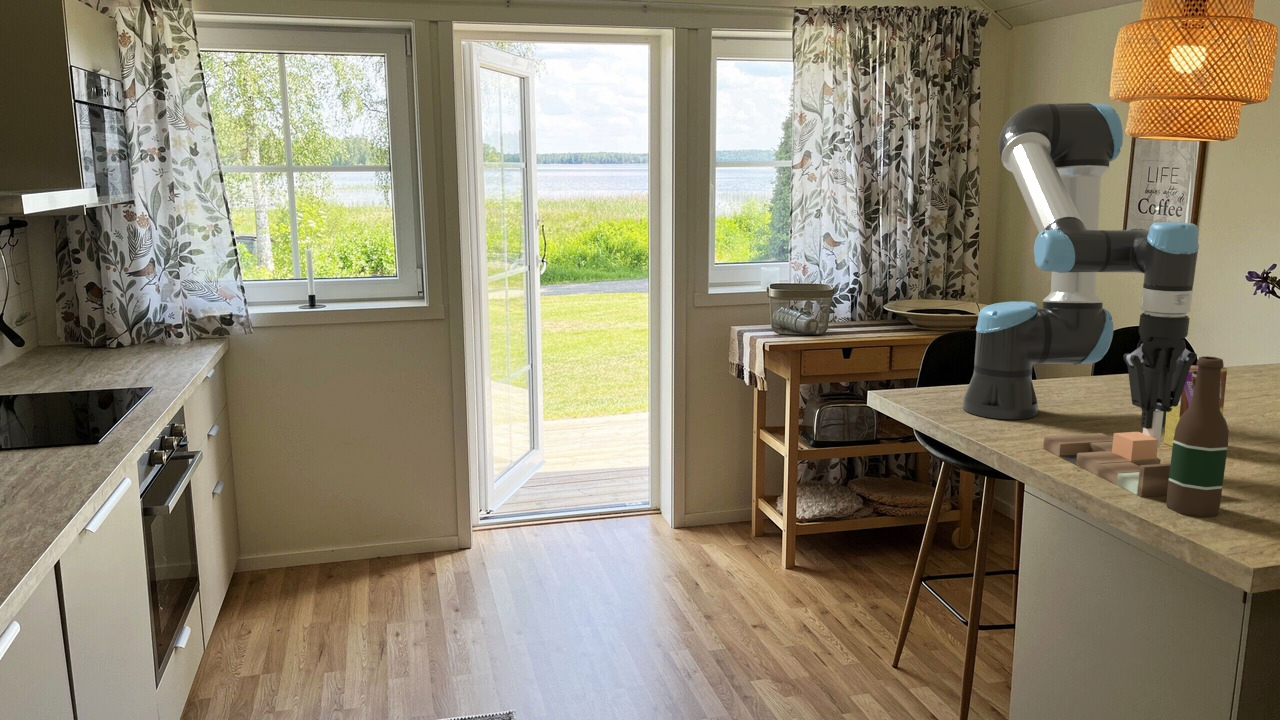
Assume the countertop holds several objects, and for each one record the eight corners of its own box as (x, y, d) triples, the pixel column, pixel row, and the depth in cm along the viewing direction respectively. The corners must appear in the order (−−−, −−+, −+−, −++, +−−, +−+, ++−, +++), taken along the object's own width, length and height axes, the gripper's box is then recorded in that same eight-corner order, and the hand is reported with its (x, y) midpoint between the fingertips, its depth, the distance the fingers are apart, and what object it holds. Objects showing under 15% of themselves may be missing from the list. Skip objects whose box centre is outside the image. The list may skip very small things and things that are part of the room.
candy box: (1205, 441, 188) (1214, 363, 185) (1220, 447, 184) (1230, 368, 180) (1161, 442, 187) (1170, 364, 184) (1175, 449, 183) (1185, 369, 180)
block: (1111, 452, 173) (1113, 433, 172) (1136, 450, 174) (1138, 431, 173) (1130, 460, 168) (1133, 440, 168) (1156, 458, 169) (1158, 439, 169)
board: (1043, 448, 183) (1045, 423, 182) (1100, 445, 185) (1103, 419, 184) (1141, 496, 157) (1144, 467, 156) (1206, 492, 159) (1210, 462, 158)
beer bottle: (1174, 516, 148) (1192, 362, 143) (1156, 499, 156) (1173, 352, 151) (1229, 519, 147) (1250, 364, 142) (1209, 502, 154) (1228, 353, 150)
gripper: (1146, 318, 162) (1132, 454, 167) (1214, 315, 165) (1198, 449, 169) (1116, 311, 169) (1103, 441, 174) (1182, 309, 172) (1167, 437, 177)
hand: (1150, 445), depth 172 cm, fingers closed
